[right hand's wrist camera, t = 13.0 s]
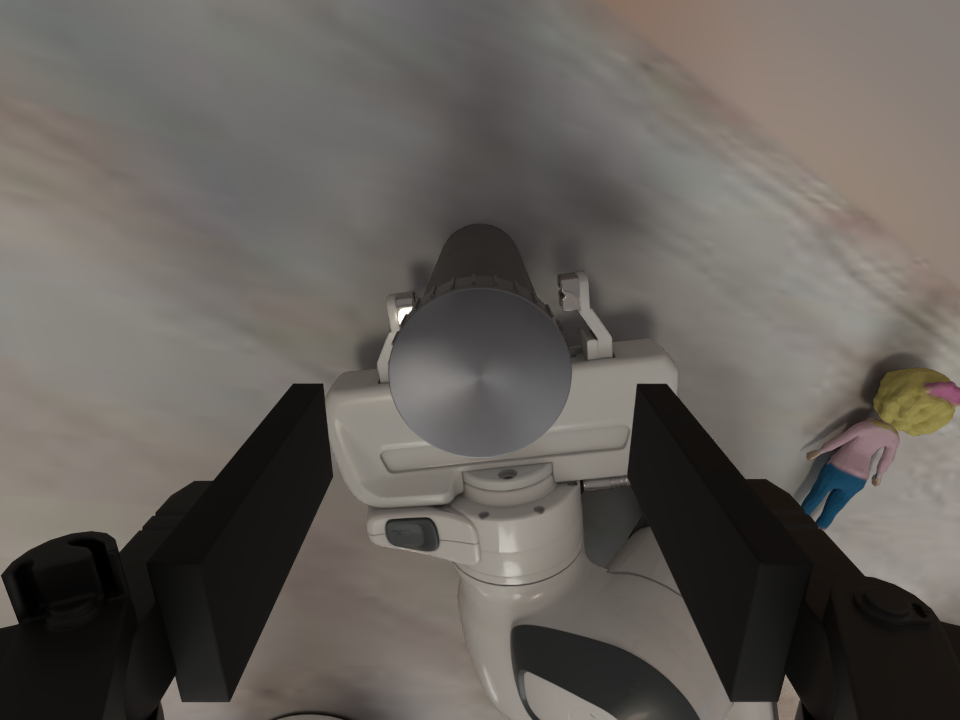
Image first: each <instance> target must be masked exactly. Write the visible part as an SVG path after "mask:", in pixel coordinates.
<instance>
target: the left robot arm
mask: <svg viewBox="0 0 960 720" xmlns="http://www.w3.org/2000/svg"><path fill="white" fill-rule="evenodd" d="M557 284H558V286H559V288H560V290H559V292H558V297H559V304H560V306H561V308H562V310H563V311H574V310H578V311H579V313H580V314H581V316H582V317H583V319H584V320H585V321H586V323H587V324H588V326H589V327H590V329H591V330H590V329H589V328H588V329H582V330H581V346H573V347H569V348H570V351H571V354H570V358H571V366H572V381H571V387H570V392H569V395H568V399H567V402H566V404H565V406H564V408H563V410H562V412H561V414H560V415H559V417H558V418H557V420H556V421H555V423H554V424H553V425H552V426H551V427H550V429H549V430H548V431H546V432H545V433H544V434H543V435H542V436H541V437H540V438H538V439H537V440H536V441H534V442H533V443H531V444H530V445H528V446H526V447H524V448H522V449H520V450H518V451H515V452H513V453H510V454H506V455H502V456H497V457H491V458H470V457H463V456H458V455H454V454H451V453H447V452H445V451H442V450H440V449H438V448H436V447H434V446H432V445H430V444H429V443H427V442H426V441H424V440H423V439H422V438H420V437H419V436H418V435H417V434H416V433H415V432H414V431H413V430H412V429H411V428H410V427H409V426H408V425H407V424H406V422H405V421H404V420H403V418H402V417H401V415H400V414H399V412H398V410H397V408H396V406H395V404H394V401H393V399H392V395H391V391H390V388H389V379H388V361H389V358H390V353H391V350H392V347H393V345H391V343H392V341H393V339H394V337H395V334H396V332H397V331H400V328H401V327H400V326H399V325H400V323H401V321H402V319H403V317H404V315H405V313H407V314H408V313H409V312H410V310H411V309H412V308H413V307H414V304H415V302H416V300H417V296H416V292H415V291H414V292H404V293H394V294H389V296H388V297H387V302H386V303H387V312H388V317H389V323H390V328H391V329H390V331H389V333H388V336H387V338H386V341H385V344H384V346H383V349H382V351H381V354H380V356H379V359H378V362H377V367H378V368H377V369H368V370H359V371H349V372H345V373H343V374H341V375H340V376H339V377H338V379H337V380H336V381H335V383H334V384H333V385H332V386H331V388H330V389H329V391H328V393H327V395H326V397H325V406H326V415H327V424H328V434H329V442H330V445H331V448H332V451H333V454H334V457H335V460H336V462H337V465H338V467H339V470H340V472H341V475H342V477H343V479H344V482H345V483H346V485H347V487H348V489H349V490H350V492H351V493H352V494H353V495H354V496H355V497H356V498H357V499H358V500H360V501H361V502H363V503H364V504H367V505H369V508H368V513H367V524H366V526H367V533H368V536H369V538H370V540H371V541H372V542H373V543H374V544H376V545H378V546H382V547H386V548H392V549H399V550H405V551H411V552H416V553H421V554H426V555H430V556H435V557H439V558H443V559H446V560H449V561H452V563H453V565H454V567H455V569H456V571H457V572H458V574H459V576H460V581H459V586H458V606H459V612H460V618H461V623H462V628H463V633H464V637H465V641H466V645H467V649H468V652H469V655H470V658H471V661H472V664H473V667H474V670H475V672H476V675H477V677H478V679H479V682H480V684H481V686H482V688H483V690H484V692H485V693H486V695H487V697H488V698H489V700H490V701H491V703H492V704H493V706H494V707H495V708H496V709H497V710H498V711H499V712H500V713H501V714H502V715H504V716H505V717H506V718H508V719H509V720H779V718H778V709H777V702H730V700H729V698H728V696H727V694H726V691H725V689H724V687H723V685H722V683H721V681H720V678H719V676H718V674H717V672H716V670H715V667H714V665H713V663H712V661H711V659H710V657H709V654H708V652H707V650H706V648H705V646H704V644H703V641H702V639H701V637H700V635H699V633H698V630H697V628H696V626H695V624H694V622H693V620H692V617H691V615H690V613H689V611H688V609H687V606H686V604H685V602H684V600H683V598H682V596H681V593H680V591H679V589H678V587H677V585H676V582H675V580H674V578H673V576H672V574H671V572H670V569H669V567H668V565H667V563H666V561H665V559H664V556H663V554H662V552H661V550H660V548H659V545H658V543H657V541H656V539H655V537H654V535H653V532H652V530H651V528H650V526H649V524H648V521H647V519H646V517H645V515H644V514H643V516H642V517H641V519H640V520H639V522H638V523H637V525H636V527H635V528H634V530H633V531H632V533H631V534H630V536H629V538H628V541H627V542H626V543H625V544H624V546H623V547H622V548H621V549H620V550H619V552H618V553H617V554H616V555H615V556H614V557H613V559H612V560H611V561H610V562H609V563H608V565H607V566H606V567H605V568H603V567H600V566H598V565H595V564H594V563H592V562H591V561H590V560H589V559H588V558H587V556H586V553H585V548H584V529H583V514H582V500H581V494H582V492H592V491H602V490H609V489H611V488H612V489H614V488H618V487H624V486H631V484H630V482H629V480H628V478H627V471H628V462H629V452H630V443H631V434H632V424H633V415H634V406H635V396H636V387H637V384H667V385H668V386H669V387H670V388H671V389H672V391H673V392H674V393H675V394H676V395H677V394H678V381H679V373H678V367H677V365H676V363H675V361H674V360H673V358H672V357H671V356H670V355H669V354H668V353H667V352H666V351H665V350H664V349H663V348H662V347H661V346H659V345H658V344H657V343H656V342H655V341H653V340H651V339H636V340H627V341H618V342H612V337H611V335H610V334H609V332H608V331H607V329H606V328H605V326H604V325H603V324H602V322H601V321H600V319H599V318H598V316H597V315H596V313H595V312H594V310H593V309H592V308H591V306H590V300H589V282H588V277H587V275H586V273H585V272H584V271H581V272H573V273H565V274H558V275H557ZM277 720H343V719H339V718H335V717H330V716H324V715H295V716H289V717H284V718H281V719H277Z"/></svg>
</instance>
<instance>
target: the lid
mask: <svg viewBox="0 0 960 720" xmlns="http://www.w3.org/2000/svg"><path fill="white" fill-rule="evenodd" d="M553 316H554V315H553V313H552V311H551V309H550V307H549V305H548V304H546V305H545V304H544V303H543V302H542V301H541V300H540V299H539V298H538V297H537V296H536V294H535V292H534V291H533V290H532V291H531V292H530V291H529V290H527V289H526V288H524V287H522V286H520V285H518V284H517V281H515V280H514V281H513V282H511V281H508V280H505V279H501V278H497V275H493V277H489V276H476V274H472V276H470V277H464V278H458V279H455V277H454V278H452V279H451V281H449V282H446V283H444V284H442V285H440V286H438V287H436V286H433V287H432V290H431V291H430V292H428V293H427V294H426V295H425V296H424V297H422V298H421V299H420V298H418V299H417V300H416V302H415V304H414V307H413V308H412V309H411V310H410V312H409V313H408V314H407V313H405V315H404V317H403V319H402V321H401V323H400V325H399V326H400V327H401V328H400V331H397V332H396V334H395V337H394V339H393V341H392V343H391V345H393V347H392V350H391V353H390V358H389V361H388V379H389V388H390V391H391V395H392V399H393V401H394V404H395V406H396V408H397V410H398V412H399V414H400V415H401V417H402V418H403V420H404V421H405V422H406V424H407V425H408V426H409V427H410V428H411V429H412V430H413V431H414V432H415V433H416V434H417V435H418V436H419V437H420V438H422V439H423V440H424V441H426V442H427V443H429V444H430V445H432V446H434V447H436V448H438V449H440V450H442V451H445V452H447V453H451V454H454V455H458V456H463V457H470V458H491V457H497V456H502V455H506V454H510V453H513V452H515V451H518V450H520V449H522V448H524V447H526V446H528V445H530V444H531V443H533V442H534V441H536V440H537V439H538V438H540V437H541V436H542V435H543V434H544V433H545V432H546V431H548V430H549V429H550V427H551V426H552V425H553V424H554V423H555V421H556V420H557V418H558V417H559V415H560V414H561V412H562V410H563V408H564V406H565V404H566V402H567V399H568V395H569V392H570V387H571V381H572V366H571V358H570V354H571V351H570V348H569V346H568V344H567V342H566V340H565V339H564V337H563V335H564V334H565V333H564V331H563V329H562V327H561V325H560V323H559V321H556V320H555V318H554V317H553Z"/></svg>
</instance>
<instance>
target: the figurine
mask: <svg viewBox="0 0 960 720" xmlns="http://www.w3.org/2000/svg"><path fill="white" fill-rule="evenodd" d="M873 403H874V406H873V407H874V409H875V410H876V412H877V413H878V415H879V417H880V418H881V420H877V419H875V418H868V419H867V420H865V421H862V422H859V423H857V424H854V425H853V426H852V427H850V428H849V429H848V430H846V431H845V432H843V433H842V434H840V435H839V436H837V437H835V438H834V439H832V440H830V441H828V442H827V443H825V444H824V445H823V447H822V448H821V449H820V450H813V451H810V452H808V453H807V454H808V455H807V456H806V457H807V460H812V459H814V458H816V457H817V456H819V455H820V454H822V453H825V452H828V451H831V450H833V449H835V448H837V447H839V446H841V445H843V444H844V445H843V446H842V447H841V448H840V449H839V450H838V451H837V452H836V453H835V454H833V455H832V456H830V457H829V459H828V460H827V462H826V463H825V465H824V466H823V468H822V469H821V471H820V473H819V476H818V478H817V481H816V482H815V484H814V486H813V487H812V489H811V491H810V493H809V494H808V495H807V497H806V498H805V500H804V501H803V503H802V505H801V507H802V508H803V509H804V510H805V514H808V515H809V516H810V514H811V512H812V511H813V510H814V509H815V508H816V507H817V506H818V504H819V503H820V502H821V501H822V499H823V498H824V497H825V495H826V494H827V493H828V492H829V491H831V490H832V489H833V490H832V491H831V493H830V494H829V496H828V498H827V500H826V503H825V505H824V508H823V511H822V513H821V515H820V516H819V518H818V519H817V521H816V523H817V525H818V529H822V530H823V531H824V530H825V529H827V527H828V526H829V525H830V524H831V522H832V521H833V519H834V517H835V516H836V514H837V513H838V512H839V511H840V510H841V509H842V508H843V507H844V506H845V505H846V503H847V502H848V501H849V500H850V499H851V498H852V497H853V496H854V495H855V494H856V493H857V492H859V491H860V490H861V489H863V488H864V485H865V483H866V481H867V479H868V477H869V468H870V461H871V457H872V455H873V454H874V453H875V452H876V451H877V450H878V449H879V448H881V447H884V446H885V448H884V452H883V455H882V456H881V458H880V461H879V463H878V466H877V473H876V474H875V475H873V477H872V484H873V485H874V486H879V484H880V482H881V478H882V474H883V473H884V472H886V470H887V469H888V467H889V465H890V464H891V462H892V461H893V459H894V457H895V453H896V450H897V447H898V445H899V435H898V432H897V430H899V431H904V432H906V433H908V434H910V435H912V436H919V435H920V434H931V433H933V432H935V431H937V430H938V429H940V428H941V427H943V426H944V425H946V424H947V423H949V421H950V420H951V419H952V418H953V414H954V412H955V407H957V406H959V405H960V388H959V387H957V386H956V384H955V383H954V382H952V381H950V379H949V378H948V377H946V376H945V375H943V374H941V373H939V372H937V371H935V370H931V369H926V368H910V369H901V370H897V371H890V372H887V373H886V374H885V376H884V378H883V379H882V380H881V381H880V387H879V390H878V393H877V394H876V396H875V398H874V399H873Z"/></svg>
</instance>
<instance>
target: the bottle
mask: <svg viewBox="0 0 960 720" xmlns="http://www.w3.org/2000/svg"><path fill="white" fill-rule="evenodd" d="M472 274H476V276H489V277H493V275H497V278H501V279H505V280H508V281H511V282H513V281H514V280H515V281H517V284H518V285H520V286H522V287H524V288H526V289H527V290H529V291H530V292H531V291H532V290H533V291H534V288H533V286H532V283H531V281H530V279H529V276H528V274H527V271H526V269H525V266H524V264H523V261H522V259H521V256H520V254H519V251H518V249H517V247H516V245H515V243H514V242H513V240H512V239H511V238H510V237H509V236H508V235H507V234H506V233H505V232H504V231H502V230H501V229H499V228H497V227H494V226H492V225H487V224H473V225H469V226H466V227H463V228H461V229H459V230H458V231H456V232H455V233H454V234H453V235H451V237H450V238H449V239H448V240H447V242H446V243H445V245H444V247H443V249H442V251H441V254H440V256H439V259H438V261H437V264H436V266H435V269H434V271H433V273H432V276H431V278H430V281H429V283H428V286H427V288H426V291H425V293H424V296H425V295H426V294H427V293H428V292H430V291H431V290H432V287H433V286H436V287H438V286H440V285H442V284H444V283H446V282H449V281H451V279H452V278H454V277H455V279H458V278H464V277H470V276H472ZM534 292H535V291H534ZM535 294H536V293H535ZM424 296H423V297H424Z"/></svg>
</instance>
